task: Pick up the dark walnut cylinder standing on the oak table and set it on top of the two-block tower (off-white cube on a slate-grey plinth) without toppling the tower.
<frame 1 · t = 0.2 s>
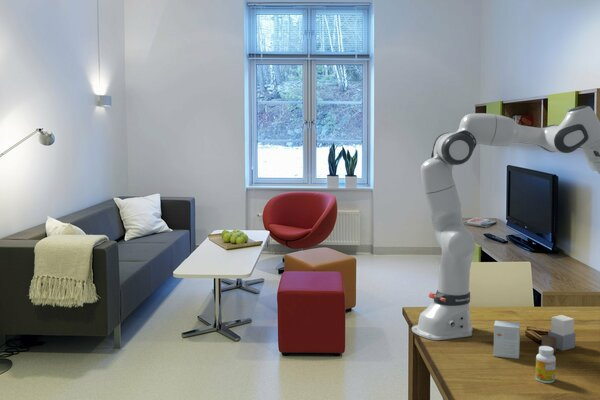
base block: (561, 346, 215), on the table, touching top block
top block: (562, 332, 214), point 5 cm above the table, touching base block
supplement bottle: (544, 380, 188), on the table
small box: (506, 355, 208), on the table
walnut cylinder: (548, 352, 210), on the table
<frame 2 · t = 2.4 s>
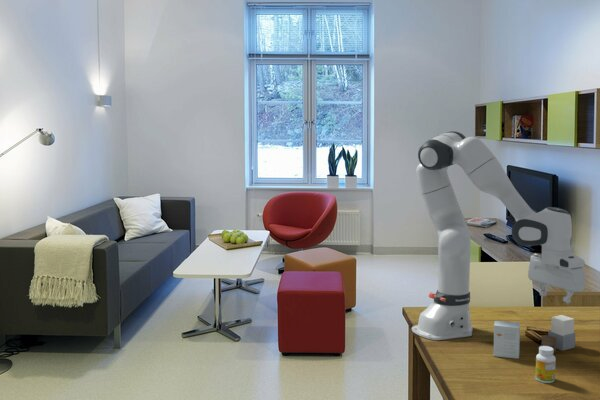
hand: (554, 299, 207), 18 cm above the table, tool pointing down, fingers open, 8 cm apart
base block: (561, 346, 215), on the table
top block: (562, 332, 214), point 5 cm above the table
everything else where it was.
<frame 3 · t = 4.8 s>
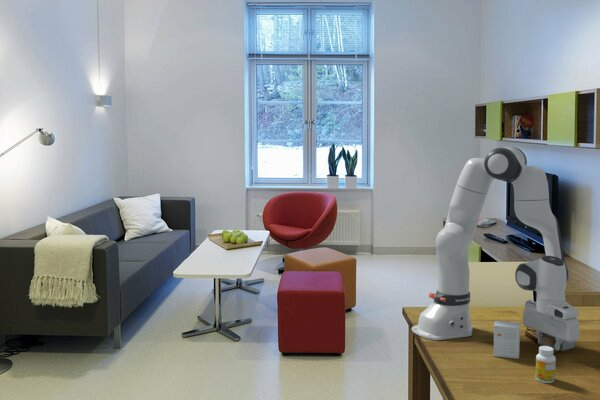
hand: (548, 346, 209), 2 cm above the table, tool pointing down, fingers closed on walnut cylinder, 4 cm apart
base block: (561, 346, 215), on the table, touching top block
top block: (561, 332, 214), point 5 cm above the table, touching base block
walnut cylinder: (548, 351, 210), on the table, touching gripper
everything else where it was.
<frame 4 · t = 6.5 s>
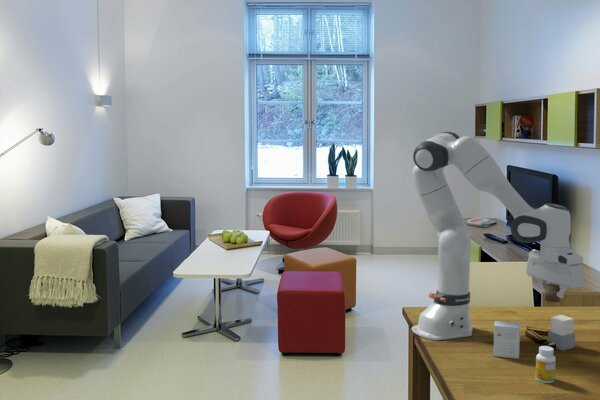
hand: (552, 295, 208), 19 cm above the table, tool pointing down, fingers closed on walnut cylinder, 4 cm apart
walnut cylinder: (552, 300, 208), point 17 cm above the table, touching gripper
everything else where it was.
when the fingers open (13 cm above the table, at t = 8.4 s): walnut cylinder drops 1 cm, resting on top block.
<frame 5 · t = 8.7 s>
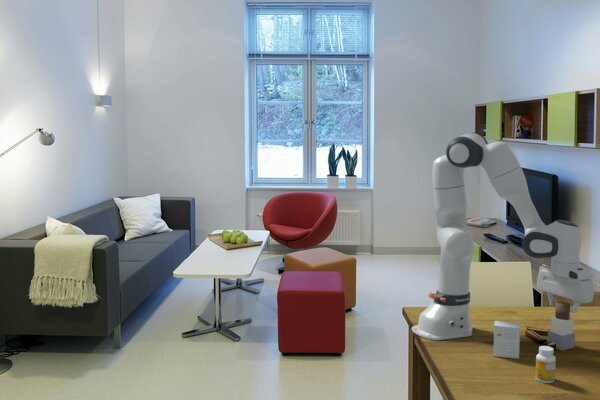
hand: (563, 309, 213), 13 cm above the table, tool pointing down, fingers open, 7 cm apart
top block: (561, 332, 214), point 5 cm above the table, touching base block, walnut cylinder
walnut cylinder: (562, 317, 214), point 10 cm above the table, touching top block
everything else where it was.
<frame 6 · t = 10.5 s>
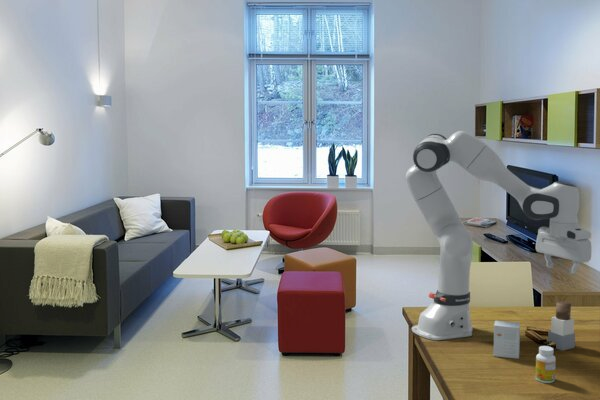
hand: (561, 270, 215), 25 cm above the table, tool pointing down, fingers open, 8 cm apart
nothing on the table moved.
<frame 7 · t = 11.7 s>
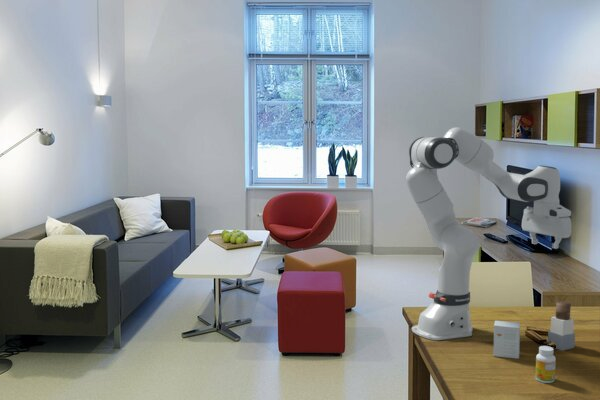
hand: (544, 246, 237), 29 cm above the table, tool pointing down, fingers open, 8 cm apart
nothing on the table moved.
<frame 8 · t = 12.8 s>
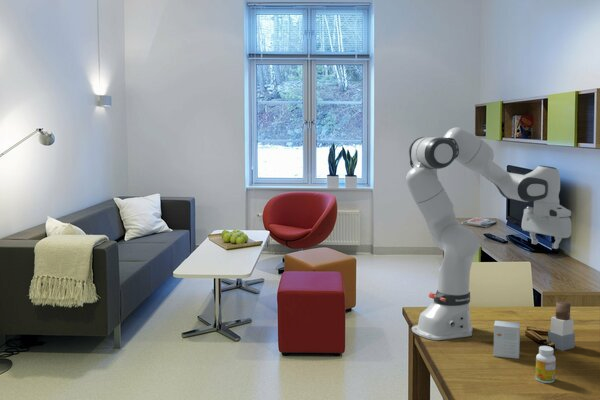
hand: (544, 246, 237), 29 cm above the table, tool pointing down, fingers open, 8 cm apart
nothing on the table moved.
at the end: walnut cylinder 0.2 cm off-centre on the top block, point 5.0 cm above the top block's base; top block 0.1 cm off-centre on the base block, point 5.0 cm above the base block's base; walnut cylinder tilted 0° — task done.
